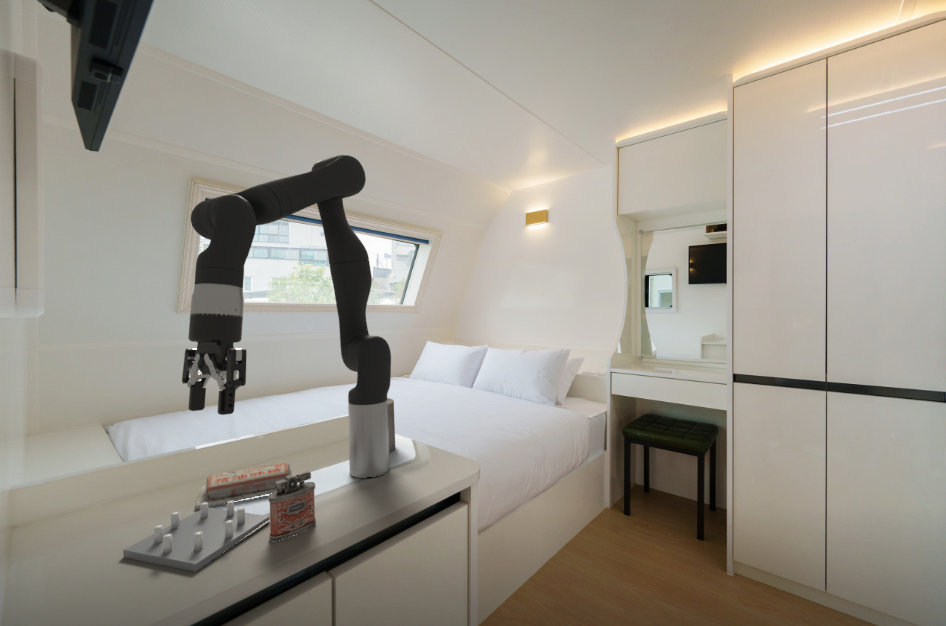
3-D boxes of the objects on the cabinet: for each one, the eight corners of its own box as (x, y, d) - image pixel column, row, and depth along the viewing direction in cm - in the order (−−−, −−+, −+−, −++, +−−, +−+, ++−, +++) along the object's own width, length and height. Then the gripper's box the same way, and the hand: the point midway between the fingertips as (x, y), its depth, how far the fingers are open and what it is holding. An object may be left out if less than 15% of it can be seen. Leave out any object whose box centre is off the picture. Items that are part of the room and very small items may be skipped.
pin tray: (206, 513, 81) (206, 494, 81) (269, 522, 77) (269, 502, 77) (123, 557, 67) (123, 534, 67) (195, 571, 63) (195, 547, 63)
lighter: (274, 544, 70) (273, 485, 70) (266, 537, 72) (265, 480, 72) (319, 525, 76) (318, 471, 76) (310, 519, 78) (309, 466, 78)
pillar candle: (374, 442, 124) (372, 392, 123) (402, 445, 120) (400, 394, 120) (352, 453, 115) (351, 399, 114) (382, 457, 111) (380, 401, 111)
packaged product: (290, 457, 99) (292, 471, 90) (290, 477, 99) (292, 494, 90) (201, 471, 91) (194, 488, 82) (201, 493, 91) (194, 512, 82)
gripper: (264, 314, 69) (258, 412, 67) (216, 317, 76) (210, 406, 74) (218, 309, 63) (211, 419, 61) (170, 313, 69) (162, 411, 68)
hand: (210, 412), depth 68 cm, fingers open, 8 cm apart
